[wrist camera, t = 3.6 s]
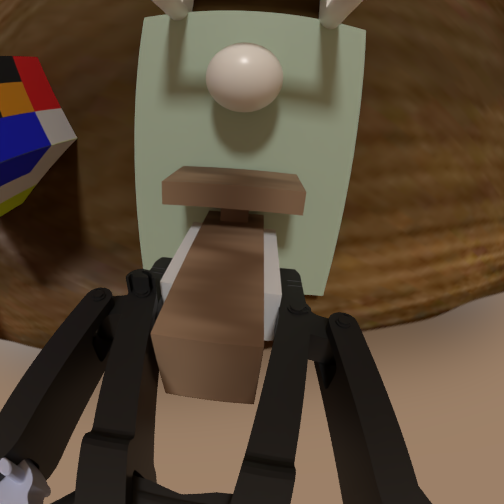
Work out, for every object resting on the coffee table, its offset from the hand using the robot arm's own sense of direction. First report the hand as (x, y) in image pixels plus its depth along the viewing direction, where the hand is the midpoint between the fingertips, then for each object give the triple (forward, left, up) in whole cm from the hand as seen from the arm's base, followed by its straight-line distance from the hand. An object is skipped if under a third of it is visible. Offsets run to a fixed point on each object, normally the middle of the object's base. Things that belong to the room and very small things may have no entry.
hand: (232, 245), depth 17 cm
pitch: (0, +9, -3) cm, 9 cm away
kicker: (0, +1, -1) cm, 2 cm away
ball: (0, +10, 0) cm, 10 cm away
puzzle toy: (-20, +8, -3) cm, 22 cm away
